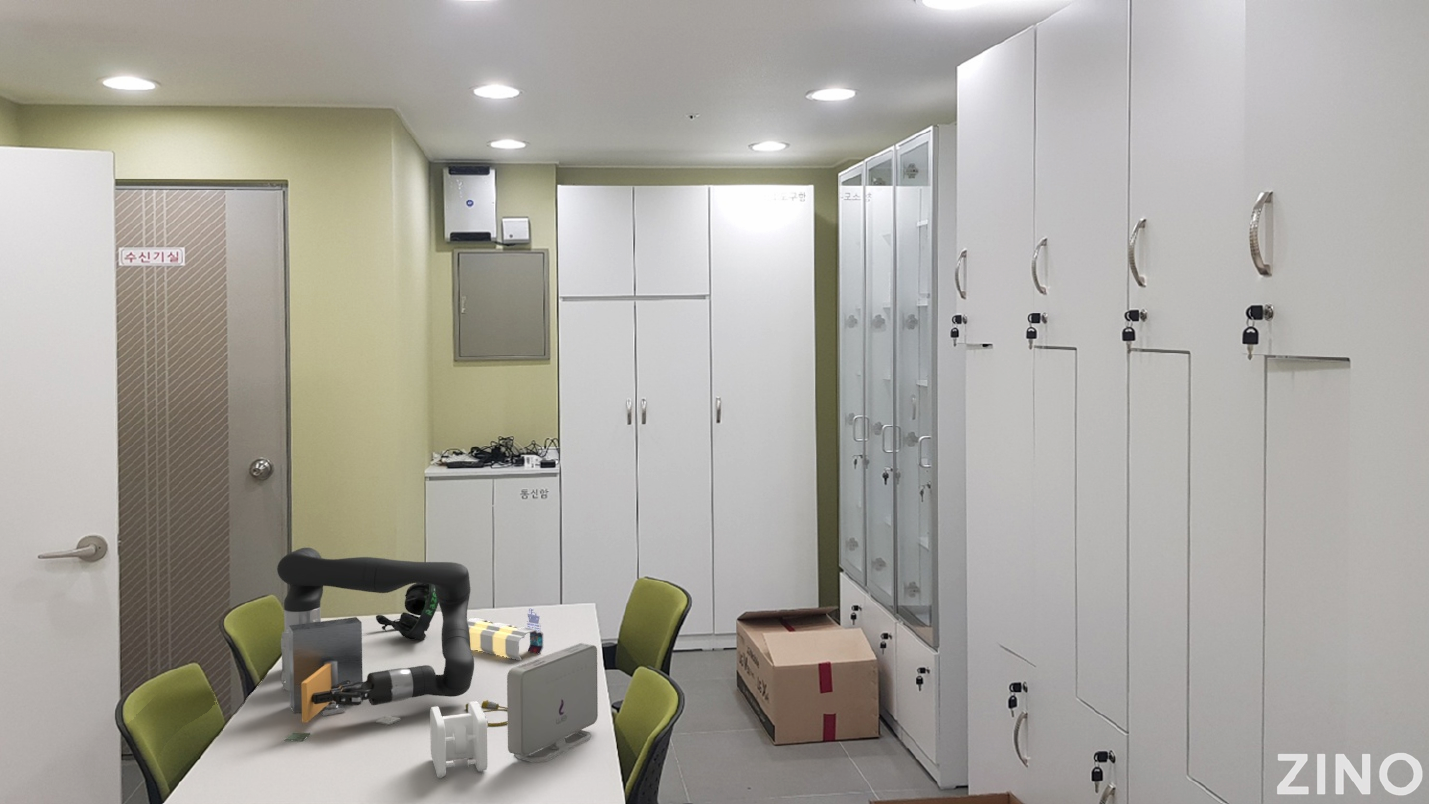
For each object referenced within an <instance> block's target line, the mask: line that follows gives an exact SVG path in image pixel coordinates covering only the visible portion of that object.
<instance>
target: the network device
mask: <svg viewBox="0 0 1429 804" xmlns="http://www.w3.org/2000/svg"><path fill="white" fill-rule="evenodd" d="M506 683H507V684H506V692H507V693H506V695H507V698H506V699H507V700H506V701H507V705H506V706H507V721H508V722H507V723H508V724H507V751H508V752H509V754H514V756H515V758H518V759H520V760H524V761H527V762H530V763H543V762H547V761H550V760H552V759H554V758H555V757H558V756H559V755H562V754H564V753H566V752H567V751H570V750H571V749H574V748H575V747H578V746H580V745H582V744H583V743H586V742H588V741H589V740H591V738H592V733H591V732H589V731H587V730H584V729H586V728H588V727H590V726H592V725H594V724H596V723H597V720H598V715H599V714H598V713H599V712H598V709H599V707H598V706H599V705H598V702H599V701H598V699H599V698H598V648H597V646H596V645H593V644H588V643H583V642H579V643H577V644H574V645H571V646H569V647H565V648H563V649H560V650H557V651H554V652H552V653H550V654H546V655H544V656H542V657H539V658H536V659H534V660H531V661H528V662H525V663H523V664H520V665H517V666H514V667H512V668H510V669H509V671H508V673H507V676H506ZM574 734H575V735H580V736H583V737H582V738H579V739H577V740H576V741H573V742H566V738H567V737H570V736H571V735H574ZM545 748H548V749H552V750H555V751H553V752H551V753H549V754H547V755H545V756H542V757H537V756H534V755H533V754H534V753H536V752H538V751H541V750H542V749H545ZM531 754H532V755H531Z"/></svg>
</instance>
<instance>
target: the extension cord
mask: <svg viewBox="0 0 1429 804" xmlns="http://www.w3.org/2000/svg"><path fill="white" fill-rule="evenodd" d="M468 704H469V702H466V704H465V709H466V710H468ZM481 708H482V709H488V710H482V711H483V712H484V713H489V712H497V711H507V707H506V706H501V705H499V703H496V702H493V701H489V700H488V699H487V700H483V701H482V703H481ZM499 708H500V709H499ZM505 725H506V726H508V720H505V721H501V722H488V727H498V726H500V727H501V726H505Z"/></svg>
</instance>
